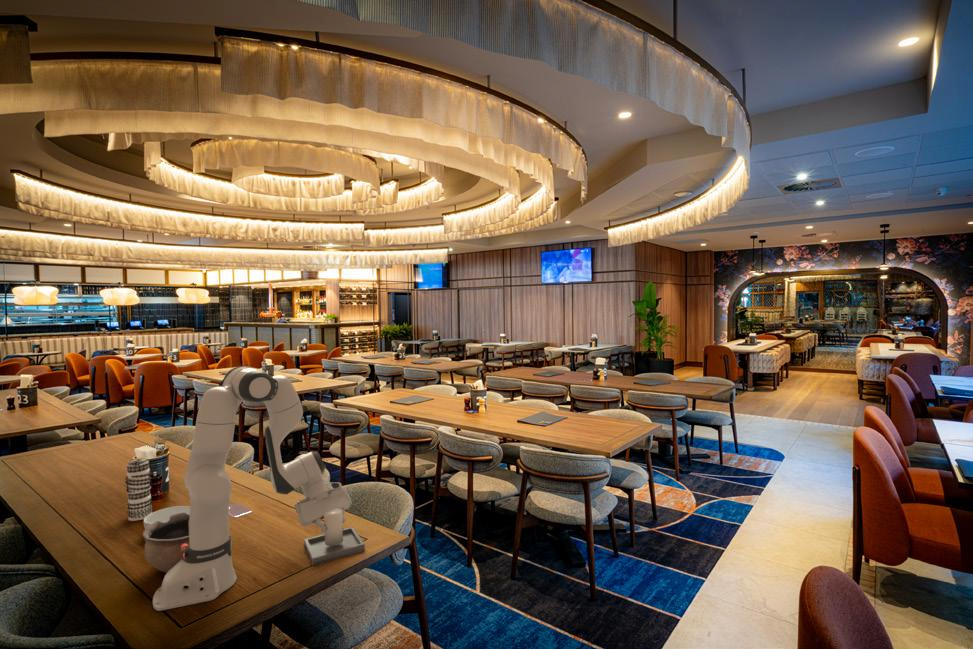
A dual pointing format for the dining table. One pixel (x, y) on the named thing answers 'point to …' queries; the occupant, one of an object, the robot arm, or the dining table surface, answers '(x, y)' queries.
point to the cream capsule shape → (333, 527)
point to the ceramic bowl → (166, 541)
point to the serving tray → (333, 547)
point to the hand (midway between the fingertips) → (334, 526)
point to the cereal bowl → (165, 514)
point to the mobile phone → (238, 510)
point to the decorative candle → (138, 489)
